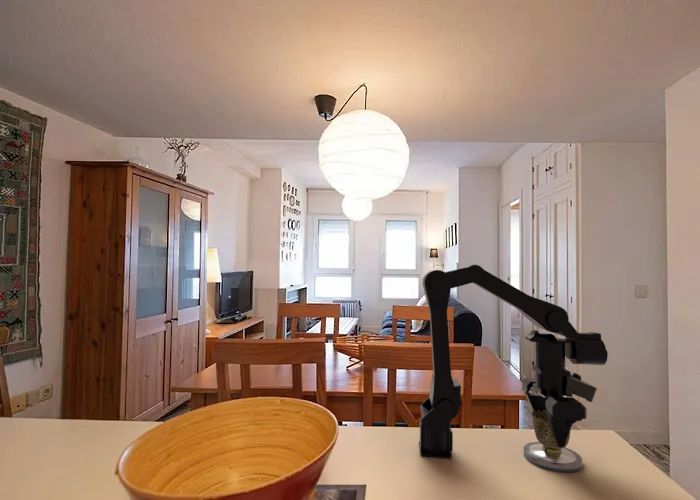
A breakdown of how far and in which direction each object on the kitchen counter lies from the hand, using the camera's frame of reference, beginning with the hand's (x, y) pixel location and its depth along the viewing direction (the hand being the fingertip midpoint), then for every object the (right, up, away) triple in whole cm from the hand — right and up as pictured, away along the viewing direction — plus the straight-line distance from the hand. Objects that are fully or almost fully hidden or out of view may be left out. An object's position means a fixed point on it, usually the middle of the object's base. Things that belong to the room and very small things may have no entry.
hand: (551, 437), depth 81 cm
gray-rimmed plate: (0, -5, 0) cm, 4 cm away
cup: (0, -3, -1) cm, 3 cm away
